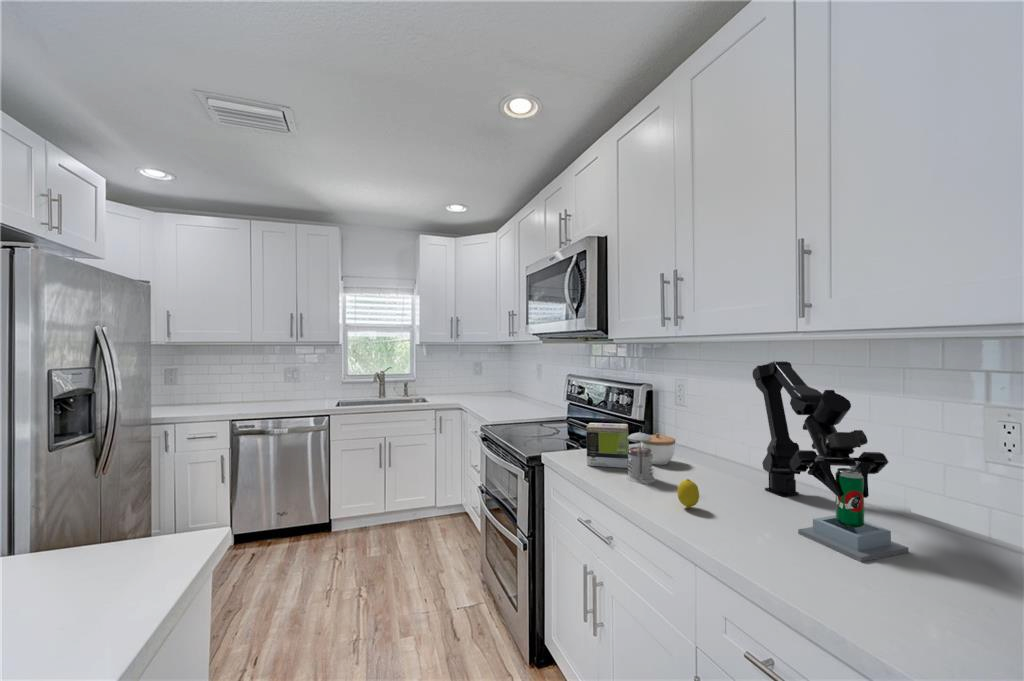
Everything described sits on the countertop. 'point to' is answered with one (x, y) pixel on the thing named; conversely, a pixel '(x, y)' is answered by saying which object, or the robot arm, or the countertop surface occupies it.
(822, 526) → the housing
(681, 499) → the lemon
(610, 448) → the tea box
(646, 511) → the countertop surface
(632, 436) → the french press
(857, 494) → the soda can
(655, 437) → the lidded bowl
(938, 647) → the countertop surface
